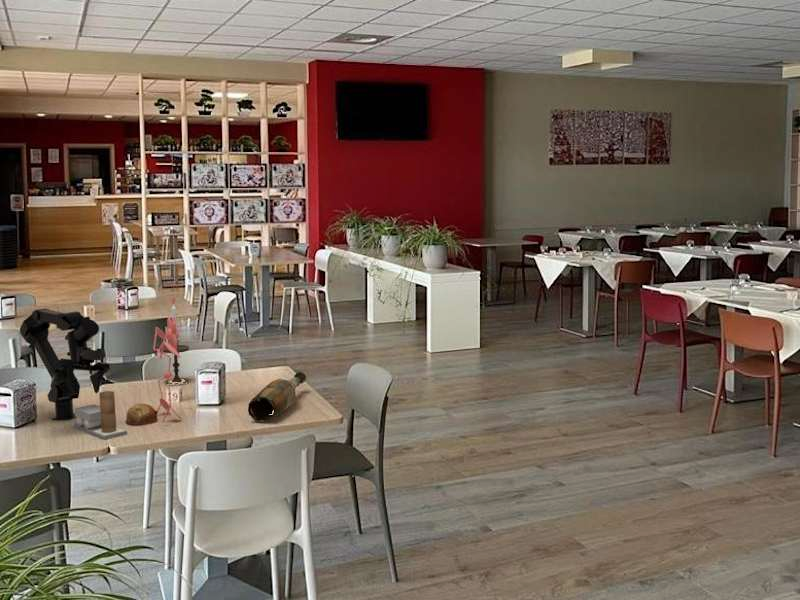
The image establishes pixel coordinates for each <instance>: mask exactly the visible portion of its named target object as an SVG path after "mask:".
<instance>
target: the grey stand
mask: <svg viewBox="0 0 800 600" xmlns="http://www.w3.org/2000/svg"><path fill="white" fill-rule="evenodd" d="M73 411H74V413H75V416H74V417H77V418H76V423H74V424H72V425H73V429H76V430H78V431H81V432H83V433H85V434H87V435H88V434H89V435H91V436H93V437H96V438H98V439H100V440H103V439H104V441H105V440H109V438H110V439H113V438H112V437H114V438H117V437H116V436H118V437H121V436H120V435H122V436H126V435H128V431H127V430H125V429H123V428H119V427H117V426H116V431H115V432H110V433H103V432H102V429H101V413H100V405H97V404H95V403H94V404H89V405H85V406H79V407H75V408H74V407H73ZM125 434H126V435H125Z"/></svg>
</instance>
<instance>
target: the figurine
mask: <svg viewBox="0 0 800 600" xmlns="http://www.w3.org/2000/svg"><path fill="white" fill-rule="evenodd" d="M166 323H167V325H166V327H167V328H166V329H165V331H163V330H162V329H160V328H159V327H158V326H155V328H154V331H155V333H154V334H155V335H154V338H153V339H154V340H153V347H152V348H153V349H152V350H153V351H156V352H157V354H158V357H159V360H161V359H162V357H163V356H166V357H167V358H169V359H168V361H169V362H168V370H167V371H165V372H164V374H163V377H162V378H160V379H158V380H157V384H158V387H159V391H160V395H161V397H160V398H158V399H159V406H158V408H157V410H156V411H157V415H158V414H159V411H160V409H161V407H162V408H164V410H166V412H165V414H164V416H163V419H162V422H163V423H164V422H165V420H166V417H167V415H168V413H169V412H170V411H171V410H172V412H173V413H174V414H175V415H176V416H177V417H178V419H179V420H180V421H182V418H181V417H180V416H179V414H178V413H177V412H176V410H174V408H172V403H171V402H172V401H171V400H172V399H171V389H170V388H171V386H170V379H172V376H173V374H172V372H171V371H170V370H171V362H172V357H171V356H170V355H169V354H167V353H165V352H163V349H164V347H165V346H166V347H167V348H168V349H169V351H170V352H172V353H173V354H172V353H171V354H172V355H173V356H174V355H176V356H177V358H179V359H181V358H182V357H181V355H180V353H179V354H178V352H177V340H178V339H179V337H180V331H179V329H178V328H177V329H176V322H175V317H173V318H172V317H171V316H170V315H168V316H167V322H166ZM157 337H160V338H161V339H162V343H161V344H160V346H159V348H157V349H156V342H157ZM166 340H168V341H167V342H166ZM161 348H162V350H161ZM163 379H166V380H169V385H168V397H169V403H168V401H166V399H165V398H164V397H163V392H162V388H161V384H160V381H162V380H163ZM185 409H189V410H192V411H196V412H198V410H196V409H194V408H192V407H185ZM165 426H166V427H167V426H170V424H168V425H167V424H166V425H164V427H165Z"/></svg>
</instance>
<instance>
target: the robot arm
mask: <svg viewBox="0 0 800 600" xmlns="http://www.w3.org/2000/svg"><path fill="white" fill-rule="evenodd" d="M51 324H52V325H55V326H56V328H58V329H59V330H60V331H68V332H67V334H66V335H65V338H64V339H65V340H66V341H67V344H68V350H69V351H68V352H66V355H67V357H70V358H60V359H59V357H58V355H57V353H56V351H55V350H54V348H53V346H52V345H51V343H50V341H49V339H48V338H49V334H50V331H49V329H50V328H51ZM69 330H71V331H69ZM99 331H100V326H99V324H98V323H97V322H96V321H94V320H92V319H91V318H90V316H83V315H82V314H81V312H80V311H77V310H76V311H70V312H69V311H68V312H63V311H56V310H51V309H49V308H40V309H39V308H38V309H35V310H33V311H32V313H31V315H29V316H28V317H27V318H26V319H24V320H23V322H22V324H21V325H20V327H19V333H20V335H21V336H22V338H23V340H24V341H25V343H28V344H29V345H31V346H32V347H34V349H35V350H36V352H37V354H38V356H39V357H40V359H41V361H42V364H43V365H44V366H45V368H46V370H47V372H48V374H49V376H50V378H51V382H50V390H49V392H48V393H47V399H48V402H50V403H54V409H55V413H54V414H55V415H54V416H53V417H51V419H52V420H72V419H73V418H74V417H76V416H75V412H74V400H75V399H79V397H80V396H79V395H80V391H81V390H80V389H81V385H80V382H79V381H78V378H77V377H76V375H75V373H74V372H75V371H85V372H87V371H89V378H90V382H91V385H92V387H93V388H92V389H93V391H94V392H95V394H98V393H100V392H99V391H100V387H101V383H102V379H103V376H104V375H106V374H107V373H108V372H110V371H111V367H110V364H109V363H108V362H105V361H104V362H100V361H102V359H105V358H106V350H105V348H102V347H101V348H96V349H92V348H91V347H88V343H87V342H89V341H90V340H92V338H94V337H95V336H96V335H98V333H99ZM95 361H98V362H96V363H95ZM93 363H95V364H93ZM74 370H75V371H74Z"/></svg>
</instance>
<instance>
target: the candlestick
mask: <svg viewBox="0 0 800 600" xmlns="http://www.w3.org/2000/svg"><path fill="white" fill-rule="evenodd" d="M175 302H176V301H175V296H173V297H172V307H171V308H170V310H171V311H170V312H171V313H170V314H171V319H172V318H173V317H175V322H176V329H177V330H178V323H177V307H176V306H175ZM179 343H180V340H178V339H177V352H178V354H179V355H180V353H185V352H188V351H190V346H189V345H186V344H179ZM161 350H162V347H161V349H160V351H161ZM163 353H165V354H172V355H173V363H172V365H171V366H172V367H173V373H174V377H173V378H170V380H172V379H173V380H172V382H181V381H182V380H181V379H184V380H185V382H183V383H186V382H188V383H189V378H188V379H187V378H183V377H180V376H179V372H180V369H179V367H180V363H179V362H178V361H179V359H178V358H179V357H177V356H176V355H174V354H173V353H172V352H170V351H169V349H168V348H167V347H166V346H165V345H164V349H163ZM168 381H169V379H166V380H165V381H164V384H165V383H166V384H169V382H168ZM166 384H165V385H166ZM170 384H172V383H170ZM175 384H178V383H175Z"/></svg>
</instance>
